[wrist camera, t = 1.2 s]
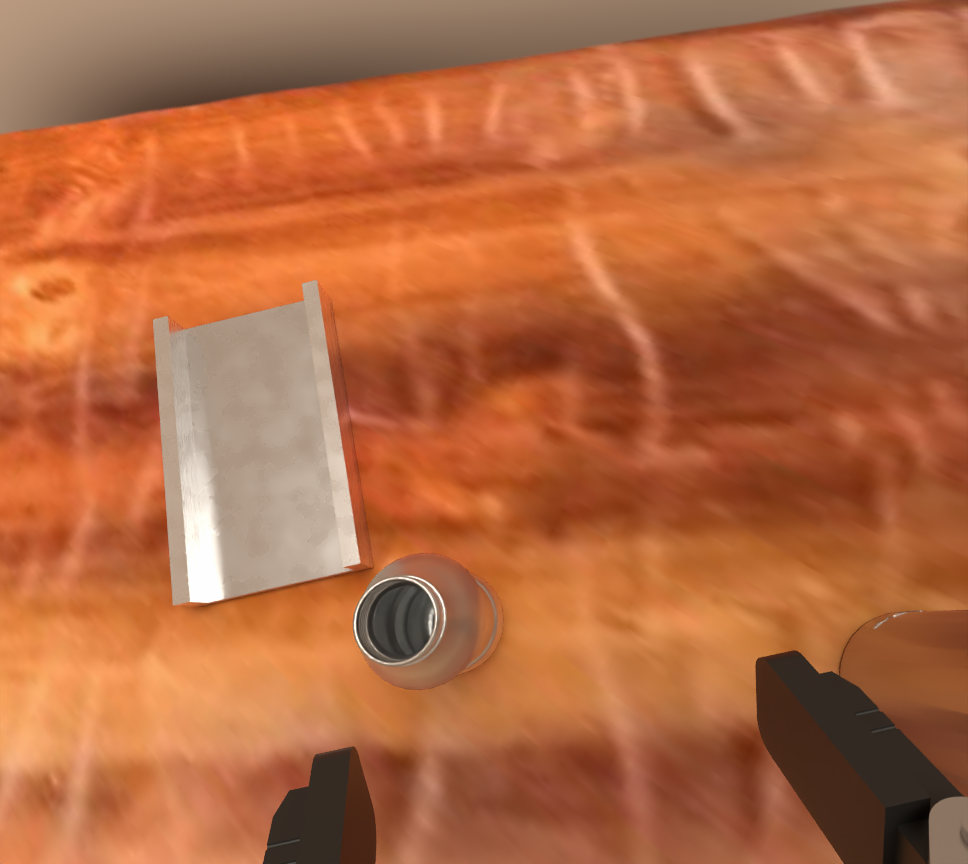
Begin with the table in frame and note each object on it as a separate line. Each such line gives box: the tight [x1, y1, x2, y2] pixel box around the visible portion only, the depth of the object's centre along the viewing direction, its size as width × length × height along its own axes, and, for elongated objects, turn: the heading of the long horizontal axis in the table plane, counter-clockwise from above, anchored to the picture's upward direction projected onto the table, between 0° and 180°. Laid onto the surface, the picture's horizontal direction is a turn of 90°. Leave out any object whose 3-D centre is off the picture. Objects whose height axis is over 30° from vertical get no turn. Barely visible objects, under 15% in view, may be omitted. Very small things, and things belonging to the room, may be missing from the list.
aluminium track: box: [153, 280, 374, 607], centre depth 50 cm, size 22×13×4 cm, turn 12°
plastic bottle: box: [353, 553, 504, 690], centre depth 37 cm, size 6×7×20 cm
